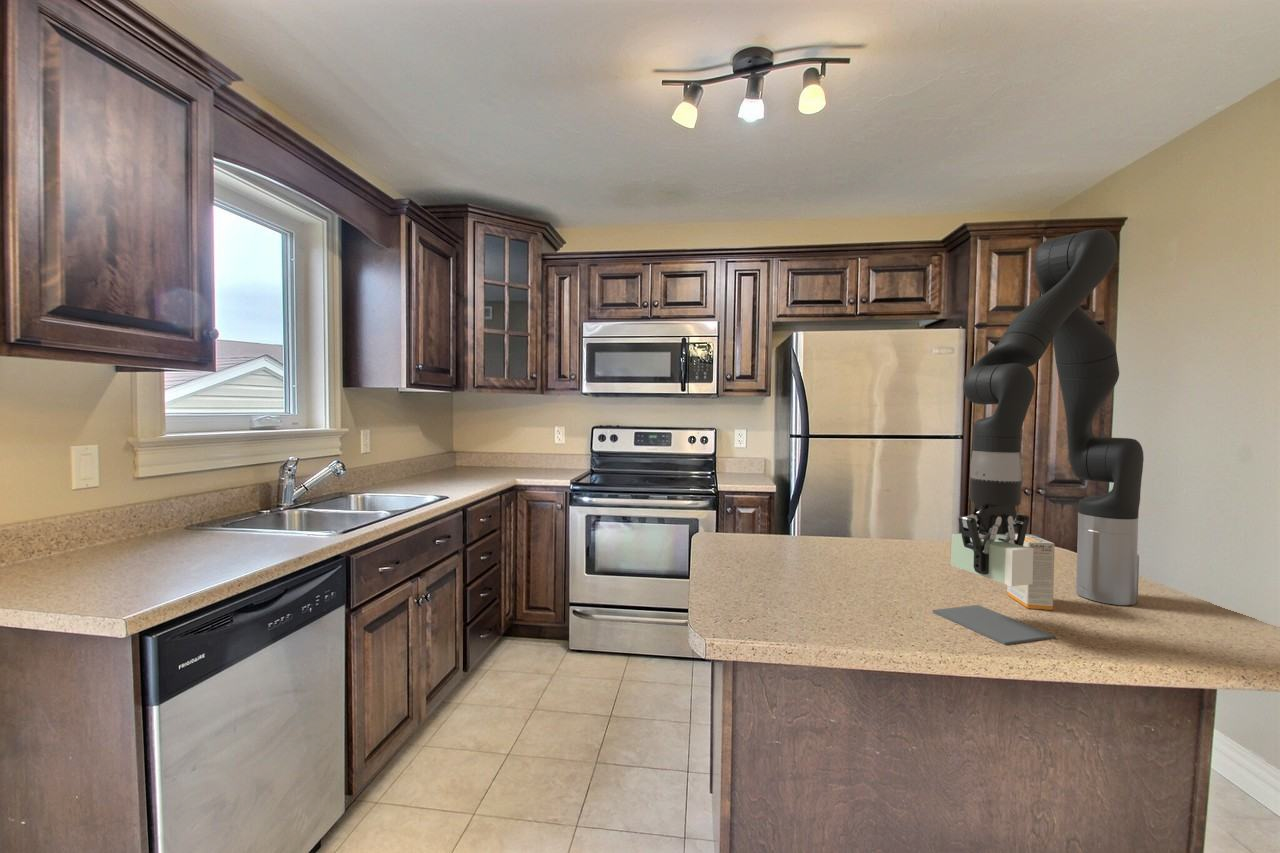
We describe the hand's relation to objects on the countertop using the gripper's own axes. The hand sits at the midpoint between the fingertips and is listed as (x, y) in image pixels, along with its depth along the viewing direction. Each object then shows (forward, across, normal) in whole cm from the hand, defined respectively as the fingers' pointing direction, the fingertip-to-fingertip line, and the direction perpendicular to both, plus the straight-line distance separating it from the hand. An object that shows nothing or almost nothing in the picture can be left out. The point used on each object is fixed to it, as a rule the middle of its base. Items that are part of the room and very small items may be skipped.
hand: (992, 571), depth 92 cm
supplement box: (+10, +18, +7) cm, 22 cm away
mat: (+10, 0, 0) cm, 10 cm away
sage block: (-2, 0, +7) cm, 7 cm away
